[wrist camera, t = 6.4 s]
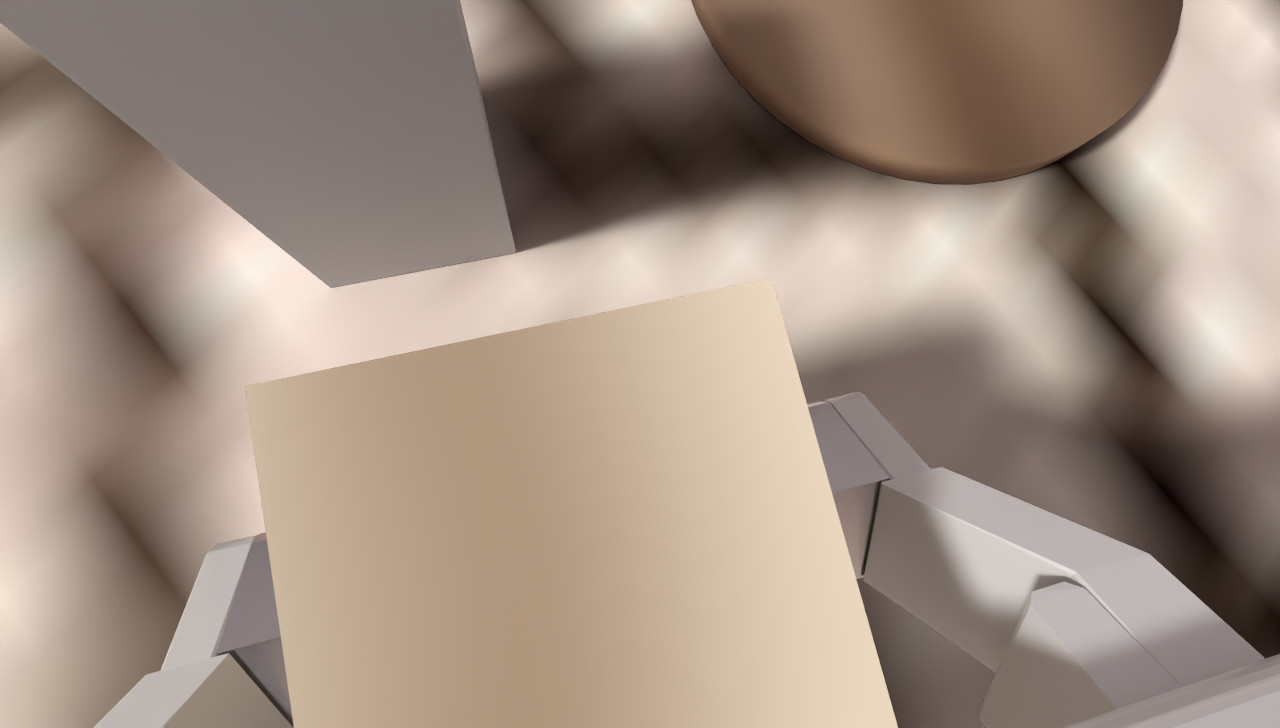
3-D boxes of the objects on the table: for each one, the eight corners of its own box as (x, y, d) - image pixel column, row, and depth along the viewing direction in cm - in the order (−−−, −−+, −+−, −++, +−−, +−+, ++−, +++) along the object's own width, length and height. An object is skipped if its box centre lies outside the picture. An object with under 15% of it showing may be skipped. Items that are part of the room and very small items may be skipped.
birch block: (645, 406, 14) (772, 277, 5) (689, 592, 13) (920, 810, 4) (460, 449, 13) (245, 385, 5) (498, 645, 13) (334, 1014, 4)
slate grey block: (481, 92, 15) (348, -475, 6) (516, 252, 14) (426, -119, 5) (302, 119, 14) (-132, -464, 5) (330, 287, 14) (-107, -64, 5)
